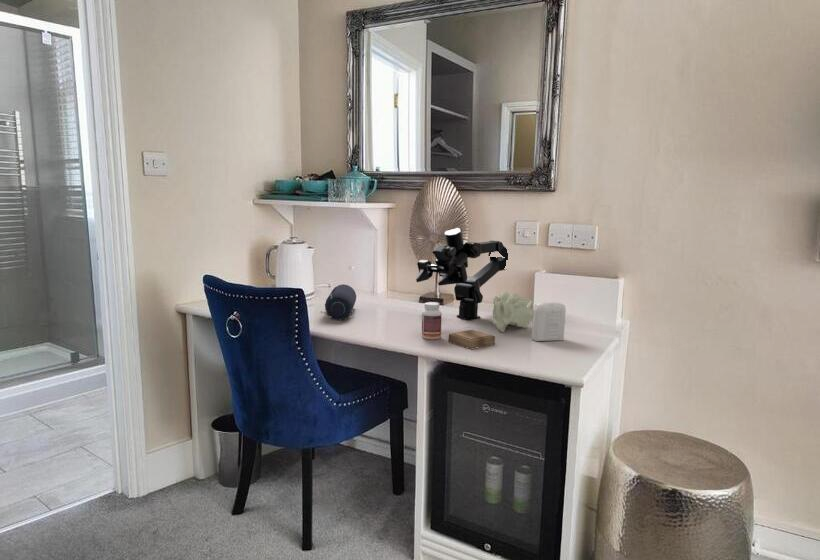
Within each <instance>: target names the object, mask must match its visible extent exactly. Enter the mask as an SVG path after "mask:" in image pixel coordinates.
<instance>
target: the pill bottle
mask: <svg viewBox="0 0 820 560" xmlns="http://www.w3.org/2000/svg"><path fill="white" fill-rule="evenodd" d="M423 306H424V309H423V310H422V312H421V338H423V339H424V340H429V341H430V340H434V341H435V340H438V339H439V340H440V338H441V337H442V315H443V314H442V311H441V310H440V302H435V301H433V302H432V301H430V302H425V303H424V305H423Z"/></svg>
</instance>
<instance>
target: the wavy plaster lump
mask: <svg viewBox="0 0 820 560" xmlns="http://www.w3.org/2000/svg"><path fill="white" fill-rule="evenodd" d="M492 299H493V309H492V315H491V316H492V317H491V321H492V323H493V324H494V325H495V326H496V327H497V329H498V331H499V332H500V333H504V332H505V330H506V327H508V325H510V326H511V325H513V326H515V327H518V328H524V329H527V328H528V326H529V325H530V323H531V322H532V321H533V313H534V309H531V307H532V303H533V300H532V299H530V298H528V297H521V296H519V295H518V294H510V293H509V292H507V291H503V292H502V293H501V294H500V295H499V297H498V296H496V295H495V296H494V298H492Z"/></svg>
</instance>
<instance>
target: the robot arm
mask: <svg viewBox="0 0 820 560" xmlns="http://www.w3.org/2000/svg"><path fill="white" fill-rule="evenodd" d="M462 232H463V231H462V228H461V227H456V228H452V229H448V230H445V231H444V237H445V242H446V245H445V244H436V246H435V247H434V249H433V250H432V254H433V255H434V257H435V261H434V263H435V264H432V263H431V261H430V260H428V259H420V260H418V262H417V263H416V264H417V269H418V275H417V276H416V279H415V281H416V283H421V282H424V281H427V280H429V279H431V278H432V277H433V274H434V273H438V274H439V277H442V278H440V280H439V281H438V282H437V284H438V286H447V285H455V286H454V289H453V290H454V295H455V300H456V301H457V302H459V307H458V314H457V315H456V318H460V319H464V320H468V321H469V320H476V319H481V316H480V315H478V310H479V309H478V308H479V307H478V306H479V304H481V303H482V302H483V298H484V296H483V294H482V292H481V288H482V286H484V284H486V283H487V282H488V281H490V279H492V278H493V277H494V276H495V275H496V274H498V273H499V272H501V271H506V270H505V269H504V268H505V266H506V260H508V253H507V249H508V248H507V247H506V246H505V245H504V244H503V242H502V241H499V240H488V241H482V242H473V241H464V238H463V233H462ZM506 248H507V249H506ZM491 252H494V253H495V252H499V253H500V254H501V255H502V256H503V257H505V258H502V257H497V258H496V257H490V259H489V262H488V263H487V264H486V265H484V266H483V267H481V269H480V270H478V271H477V272H476V273H475V274H473V275H472V276H469V275H468V274H467V268H469V261H468V259H476V258H479V257H480V256H481V255H483V254H487V253H488V256H490V254H491Z"/></svg>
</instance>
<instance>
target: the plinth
mask: <svg viewBox="0 0 820 560" xmlns="http://www.w3.org/2000/svg"><path fill="white" fill-rule="evenodd" d="M447 340H448V343H450V342H451V344H454V343H455V344H454V345H457V344H458V346H460V345H461V346H460V347H463V346H464V347H463V348H466V347H468V348H467V349H469V348H475V349H477V348H476V347H479V348H483V347H482V346H484V347H487V346H486V345H488V346H492V345H491V344H493V345H495V343H496V341H495V340H496V336H495V335H492V334H489V333H485V332H482V331H478V330H475V329H467V330H461V331H456V332H452V333H448V339H447Z"/></svg>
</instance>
